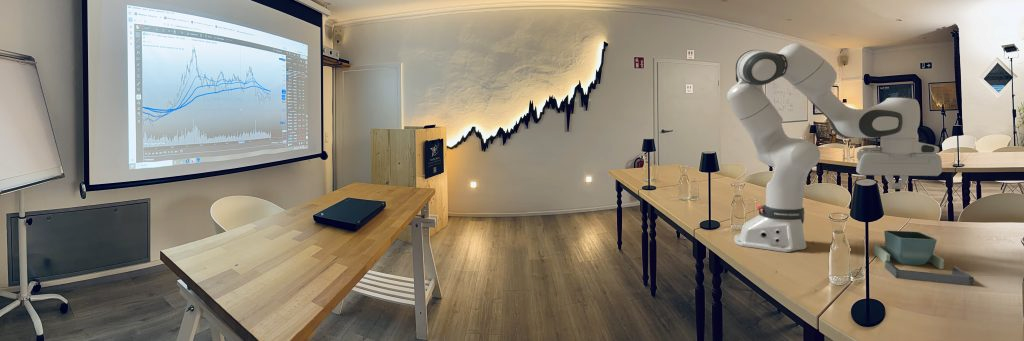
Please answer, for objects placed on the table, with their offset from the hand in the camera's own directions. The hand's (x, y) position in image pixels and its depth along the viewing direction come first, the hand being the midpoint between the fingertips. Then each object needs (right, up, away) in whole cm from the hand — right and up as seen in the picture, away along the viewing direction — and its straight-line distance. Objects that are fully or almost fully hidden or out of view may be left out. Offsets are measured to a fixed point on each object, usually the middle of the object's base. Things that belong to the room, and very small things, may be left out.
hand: (895, 188), depth 130 cm
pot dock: (-10, -24, -19) cm, 32 cm away
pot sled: (-4, -22, -7) cm, 23 cm away
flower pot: (-5, -23, -8) cm, 25 cm away
